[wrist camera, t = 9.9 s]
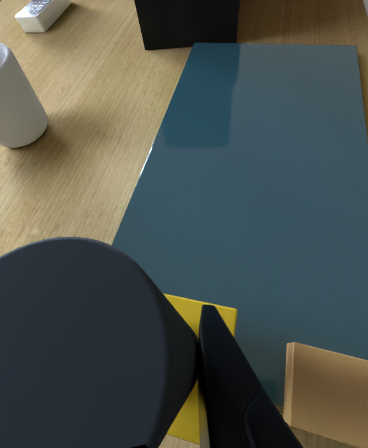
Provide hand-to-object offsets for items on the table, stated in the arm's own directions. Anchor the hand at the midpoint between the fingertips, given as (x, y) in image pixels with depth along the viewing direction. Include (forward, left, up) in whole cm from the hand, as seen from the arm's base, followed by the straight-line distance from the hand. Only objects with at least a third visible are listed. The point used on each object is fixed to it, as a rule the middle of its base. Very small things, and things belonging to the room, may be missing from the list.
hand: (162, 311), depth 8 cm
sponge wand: (-1, +1, -7) cm, 7 cm away
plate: (+11, -12, -10) cm, 20 cm away
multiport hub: (+59, +1, -11) cm, 60 cm away
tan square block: (-6, -6, -9) cm, 12 cm away
